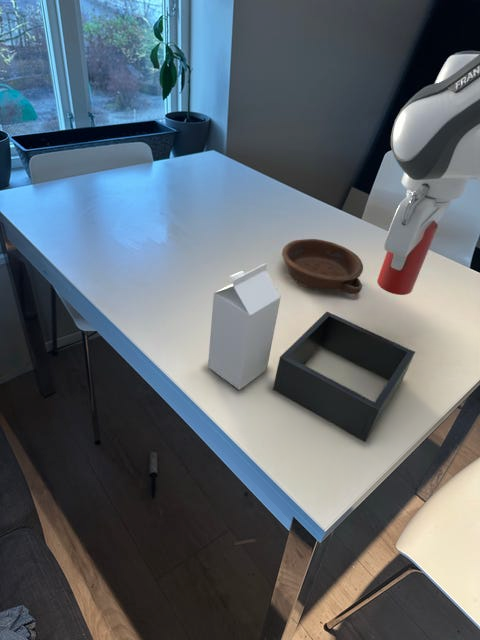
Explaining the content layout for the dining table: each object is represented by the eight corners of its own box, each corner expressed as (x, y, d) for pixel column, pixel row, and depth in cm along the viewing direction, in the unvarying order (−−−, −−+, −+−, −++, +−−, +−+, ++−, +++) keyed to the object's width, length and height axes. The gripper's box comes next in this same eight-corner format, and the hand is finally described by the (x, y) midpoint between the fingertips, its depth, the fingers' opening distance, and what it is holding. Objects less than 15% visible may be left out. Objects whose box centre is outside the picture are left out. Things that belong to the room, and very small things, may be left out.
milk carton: (267, 370, 75) (285, 273, 64) (239, 391, 70) (253, 291, 59) (235, 349, 78) (248, 253, 67) (207, 368, 74) (215, 269, 62)
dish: (330, 313, 90) (336, 292, 87) (257, 264, 103) (259, 245, 100) (380, 287, 100) (386, 268, 97) (307, 246, 112) (311, 228, 109)
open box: (401, 382, 76) (415, 351, 72) (365, 442, 65) (379, 409, 61) (318, 341, 82) (326, 311, 78) (272, 389, 71) (279, 356, 67)
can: (416, 285, 78) (442, 221, 71) (405, 299, 74) (431, 233, 67) (384, 272, 80) (406, 209, 73) (371, 285, 76) (393, 220, 69)
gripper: (436, 202, 57) (402, 291, 66) (471, 168, 71) (439, 245, 80) (390, 188, 60) (362, 275, 68) (432, 157, 74) (405, 233, 82)
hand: (404, 259), depth 74 cm, fingers closed on can, 6 cm apart
